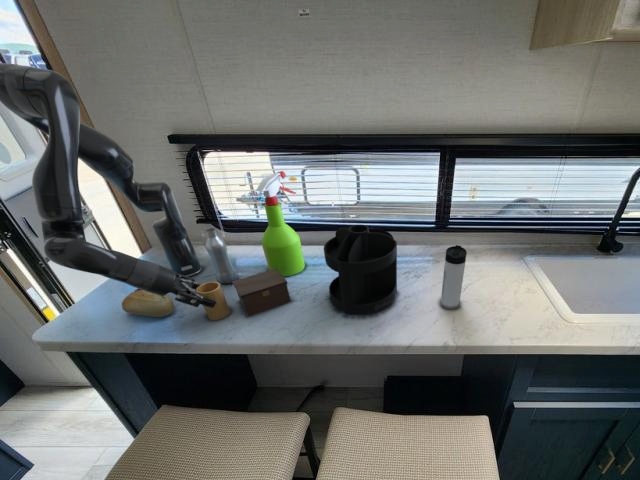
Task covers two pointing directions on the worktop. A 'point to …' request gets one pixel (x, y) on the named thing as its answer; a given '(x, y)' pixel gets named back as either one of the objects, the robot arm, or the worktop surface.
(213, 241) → the plastic bottle
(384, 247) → the container
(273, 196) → the spray bottle
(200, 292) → the cup
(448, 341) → the worktop surface
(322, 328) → the worktop surface
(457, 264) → the travel mug
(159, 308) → the bread roll
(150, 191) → the robot arm
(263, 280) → the box
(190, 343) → the worktop surface
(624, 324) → the worktop surface
